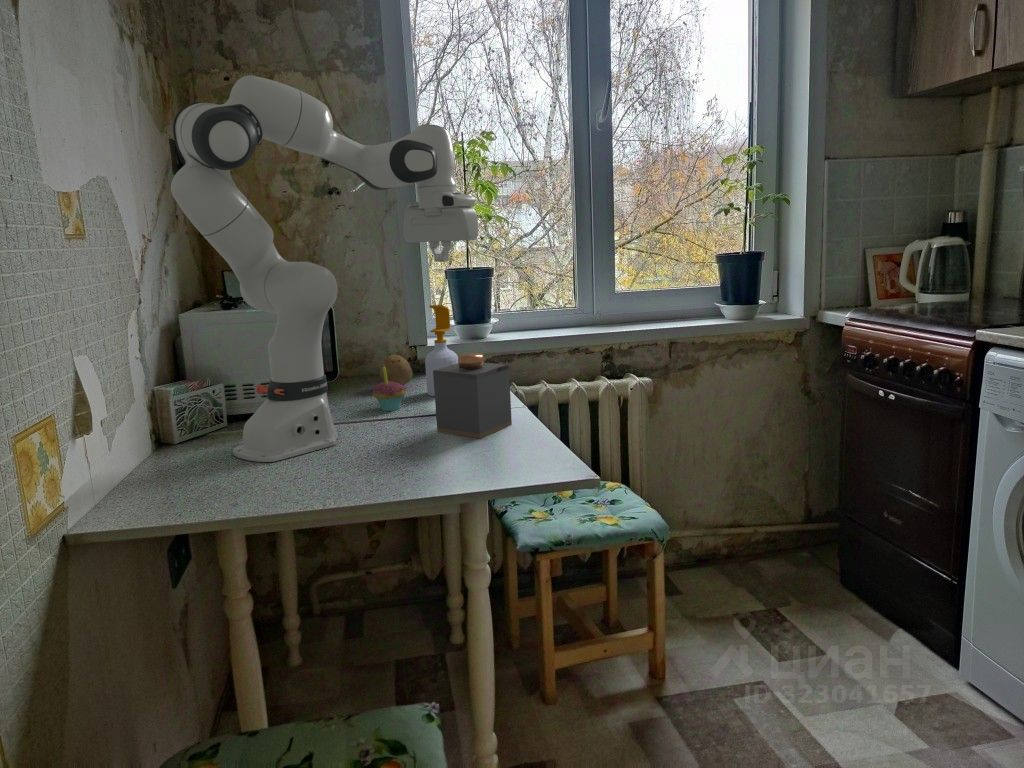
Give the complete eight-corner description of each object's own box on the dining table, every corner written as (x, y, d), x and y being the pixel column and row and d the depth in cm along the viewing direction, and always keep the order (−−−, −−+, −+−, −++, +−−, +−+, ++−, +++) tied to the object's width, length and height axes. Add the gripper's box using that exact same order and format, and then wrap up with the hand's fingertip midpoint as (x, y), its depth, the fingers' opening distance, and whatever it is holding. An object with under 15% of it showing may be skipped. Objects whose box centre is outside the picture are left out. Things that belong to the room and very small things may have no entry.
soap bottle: (422, 396, 192) (415, 306, 187) (435, 389, 200) (429, 302, 195) (453, 397, 189) (447, 306, 184) (465, 390, 198) (459, 302, 192)
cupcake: (401, 413, 176) (397, 365, 173) (368, 413, 177) (364, 366, 175) (411, 404, 184) (407, 359, 182) (380, 404, 186) (376, 359, 183)
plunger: (478, 429, 152) (474, 360, 149) (444, 423, 158) (439, 357, 155) (504, 418, 160) (500, 352, 157) (470, 413, 166) (466, 350, 162)
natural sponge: (374, 390, 203) (370, 356, 201) (396, 384, 210) (393, 351, 207) (396, 393, 197) (393, 358, 195) (418, 387, 204) (415, 353, 202)
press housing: (480, 438, 151) (476, 374, 148) (437, 431, 158) (432, 370, 155) (511, 424, 161) (508, 364, 158) (470, 418, 168) (466, 360, 164)
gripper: (395, 203, 165) (400, 262, 168) (462, 197, 153) (466, 262, 156) (413, 202, 170) (418, 261, 173) (480, 197, 158) (484, 260, 161)
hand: (441, 261), depth 165 cm, fingers closed
